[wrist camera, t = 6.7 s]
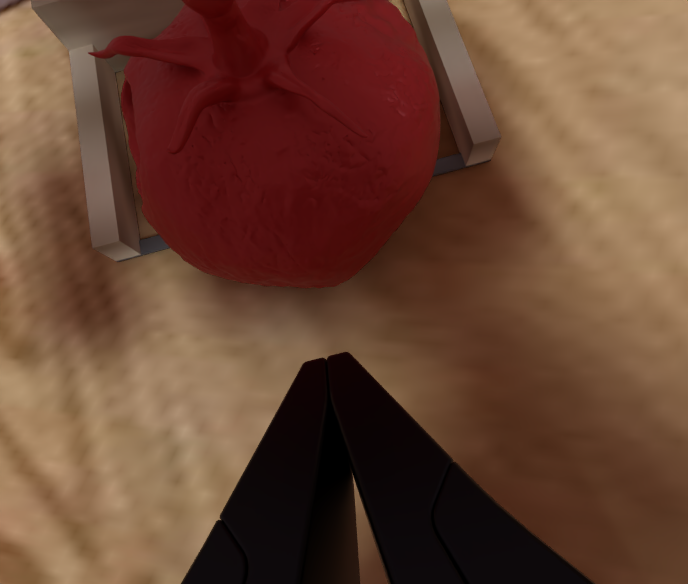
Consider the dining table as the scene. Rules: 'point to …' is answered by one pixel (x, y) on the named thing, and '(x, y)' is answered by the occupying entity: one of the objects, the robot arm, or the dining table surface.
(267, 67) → the pomegranate
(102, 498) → the dining table surface
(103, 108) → the cradle
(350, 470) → the robot arm
